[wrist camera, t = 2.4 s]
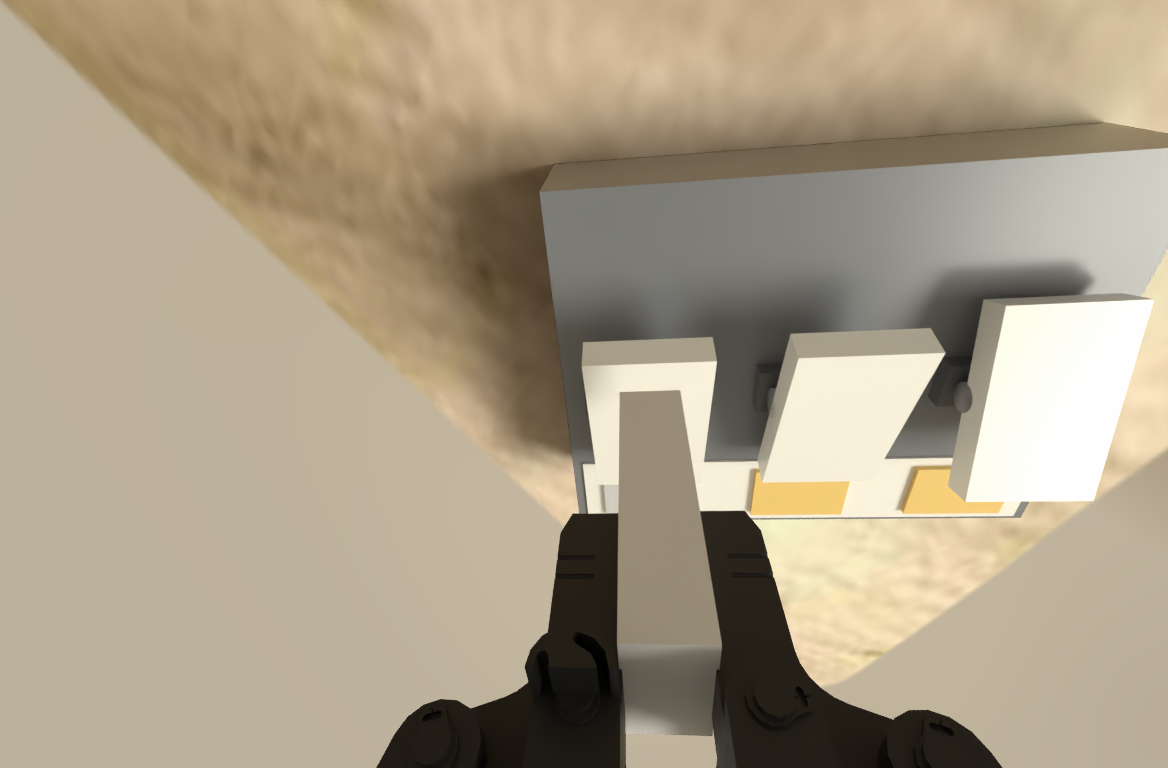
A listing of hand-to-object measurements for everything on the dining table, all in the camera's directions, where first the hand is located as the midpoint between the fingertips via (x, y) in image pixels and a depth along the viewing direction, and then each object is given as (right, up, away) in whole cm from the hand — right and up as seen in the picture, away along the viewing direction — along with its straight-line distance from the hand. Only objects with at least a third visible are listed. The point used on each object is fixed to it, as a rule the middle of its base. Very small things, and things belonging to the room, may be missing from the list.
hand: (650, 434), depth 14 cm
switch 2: (+6, +1, +4) cm, 7 cm away
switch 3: (+12, +1, +3) cm, 13 cm away
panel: (+7, +4, +8) cm, 11 cm away
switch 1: (0, +1, +4) cm, 4 cm away
